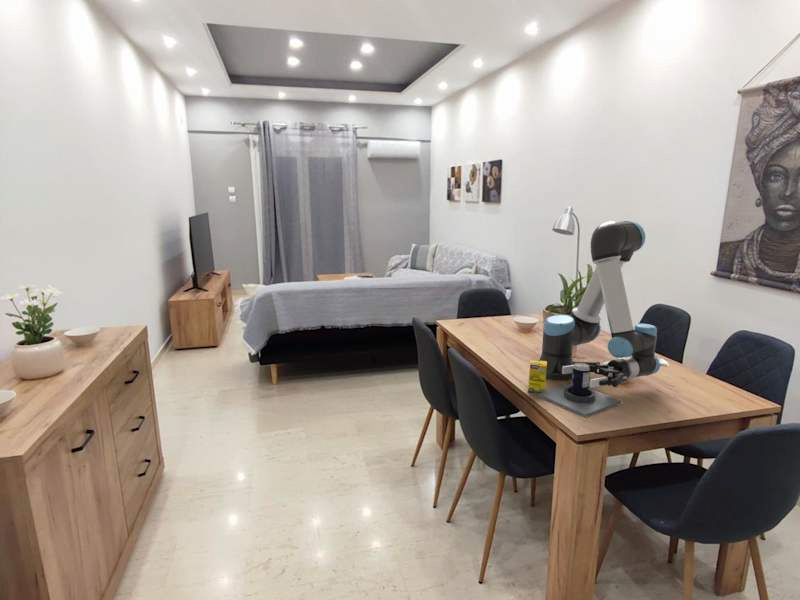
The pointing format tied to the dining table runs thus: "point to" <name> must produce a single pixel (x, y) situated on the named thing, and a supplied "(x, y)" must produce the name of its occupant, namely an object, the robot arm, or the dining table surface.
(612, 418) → the dining table surface
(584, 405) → the ring socket
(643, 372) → the robot arm
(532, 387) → the supplement box
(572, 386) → the beverage can
